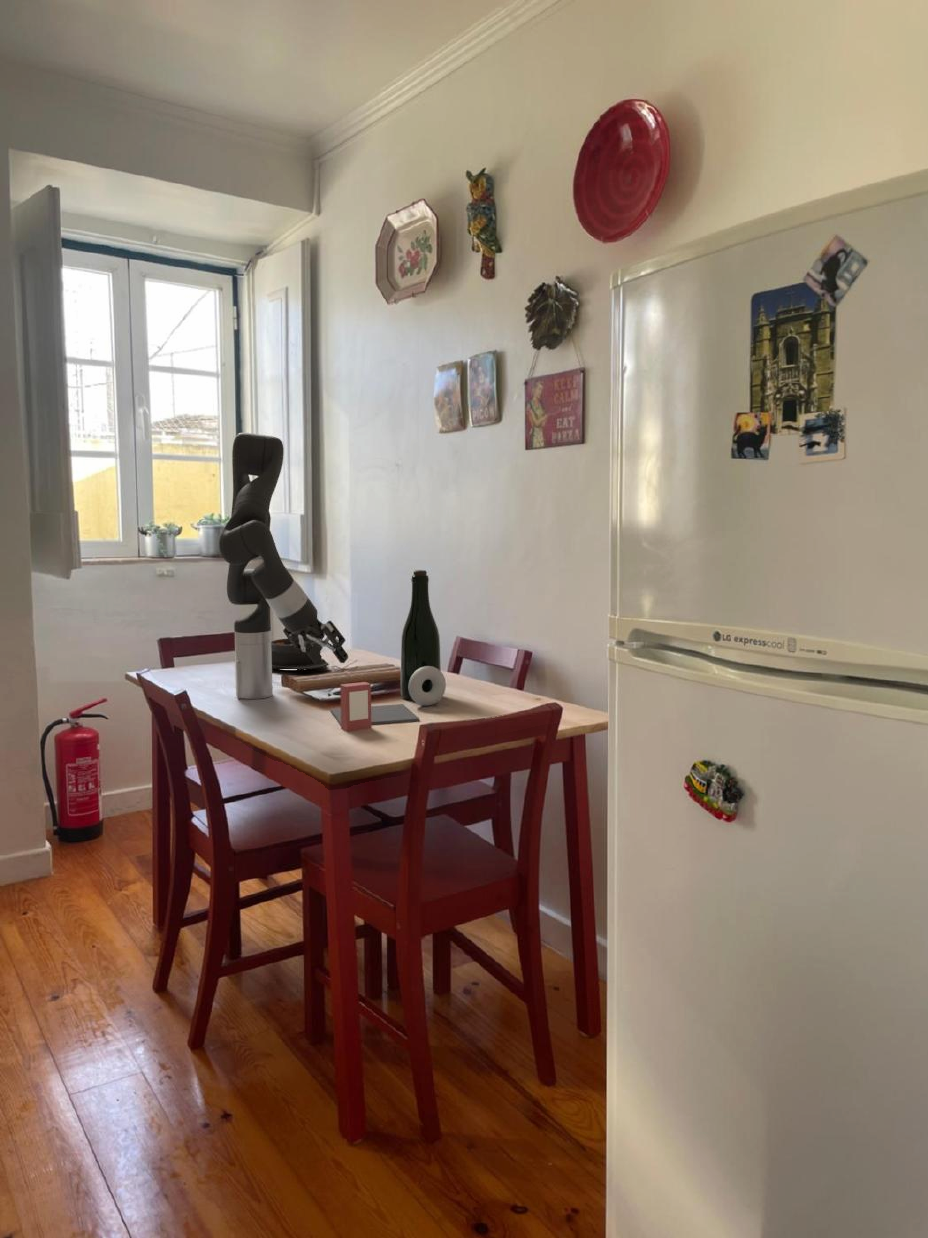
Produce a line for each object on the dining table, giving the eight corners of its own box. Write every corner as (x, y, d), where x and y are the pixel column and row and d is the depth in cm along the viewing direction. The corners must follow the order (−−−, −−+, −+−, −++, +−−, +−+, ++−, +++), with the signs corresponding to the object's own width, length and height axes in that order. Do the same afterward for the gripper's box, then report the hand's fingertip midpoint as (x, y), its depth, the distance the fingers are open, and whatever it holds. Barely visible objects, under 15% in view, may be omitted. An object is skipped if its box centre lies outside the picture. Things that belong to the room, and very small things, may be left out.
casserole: (247, 666, 278) (247, 640, 277) (300, 659, 290) (299, 634, 289) (290, 678, 259) (289, 649, 258) (343, 670, 272) (343, 642, 271)
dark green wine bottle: (397, 694, 236) (395, 569, 232) (435, 692, 239) (434, 568, 235) (405, 702, 226) (404, 572, 222) (445, 700, 229) (445, 571, 225)
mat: (341, 726, 201) (341, 724, 201) (330, 711, 216) (330, 709, 216) (419, 721, 207) (419, 718, 206) (402, 706, 222) (402, 704, 222)
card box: (346, 731, 197) (345, 686, 196) (341, 728, 200) (340, 684, 199) (371, 728, 200) (370, 684, 199) (365, 725, 203) (365, 681, 202)
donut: (442, 702, 226) (442, 663, 225) (448, 705, 223) (448, 665, 222) (406, 706, 222) (405, 666, 221) (411, 709, 219) (411, 668, 217)
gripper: (323, 591, 184) (363, 648, 192) (279, 594, 193) (319, 649, 201) (303, 615, 180) (344, 673, 188) (259, 618, 189) (300, 672, 197)
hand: (331, 660), depth 195 cm, fingers open, 8 cm apart
